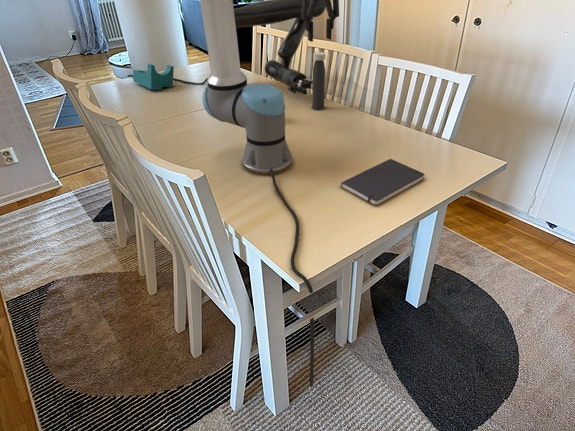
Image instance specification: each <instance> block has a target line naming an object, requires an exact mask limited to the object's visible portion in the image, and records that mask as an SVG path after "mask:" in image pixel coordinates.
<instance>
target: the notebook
mask: <svg viewBox="0 0 575 431" xmlns="http://www.w3.org/2000/svg"><path fill="white" fill-rule="evenodd" d="M424 176H425V173H424V172H422V171H420V170H417V169H415V168H413V167H410V166H408V165H406V164H404V163H401V162H399V161H397V160H395V159H393V158H389V159H387V160H385V161H382V162H380V163H379V164H377V165H375V166H372V167H370V168H368V169H366V170H364V171H362V172H360V173H358V174H356V175H353V176H351V177H350V178H348V179H345V180H344V181H341V182H340V183H341V184H340V187H341V188H342V189H344V190H345V191H347V192H349V193H350V194H353V195H355V196H356V197H358V198H360V199H362V200H363V201H365V202H367V203H369V204H371V205H373V206H379V205H381V204H382V203H384V202H386V201H388V200H390V199H391V198H393V197H395V196H397V195H398V194H400V193H402V192H404V191H406V190H407V189H409V188H411V187H413V186H415V185H416V184H418V183H420V182H422V181H423V180H424Z"/></svg>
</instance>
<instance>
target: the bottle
mask: <svg viewBox="0 0 575 431" xmlns="http://www.w3.org/2000/svg"><path fill="white" fill-rule="evenodd" d="M312 80H313V83H312V87H313V89H311V90H312V91H311V92H312V93H311V96H312V97H311V98H312V101H311V108H312V109H313V110H314V111H322V110H324V109H325V91H326V90H325V89H326V67H325V61H324V60H320V61H318V60H314V63H313V66H312Z"/></svg>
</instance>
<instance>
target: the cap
mask: <svg viewBox="0 0 575 431" xmlns="http://www.w3.org/2000/svg"><path fill="white" fill-rule="evenodd" d="M312 57H313V58H312V59H313V60H314V61H315V60H318V61H320V60H323V61H324V60H326V52H323V51H315V52H313V55H312Z"/></svg>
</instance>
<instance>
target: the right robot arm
mask: <svg viewBox="0 0 575 431" xmlns="http://www.w3.org/2000/svg"><path fill="white" fill-rule="evenodd" d="M317 1H318V0H311V1H310V5H309V8H308V0H302V8H301V19H302V20H305V21H306V30H305V32H307V41H309V42H311V43H312V42H314V21H313V20H312V21H311V19H312V16H313V13H314V9H315V6H316V2H317ZM324 1H325V5H326V9H325V10H326V12H327V17H328V18H326V26H325V27H326V28H325V29H326V31H325V39H327V40H329V41H330V40H332V30H333V29H334V28H335V27H334V26H335V20H336V19H337V18H339V17H340V0H332V1H331V0H324ZM199 3H200V10H201V17H202V22H203V29H204V36H205V42H206V49H207V55H208V62H209V67H210V74H211V75H210V74H209V76H208V77H209V78H208V77H207V78H208V79H207V81H206V85H205V86H204V91H203V92H202V96H201V97H202V106H203V108H204V110H205V111H206V113H207V115H209V116H210V117H211V118H213V119H216V120H217V121H219V122H222V123H228V124H231V125H234V126H237V127H240V128H243V129H245V136H246V137H245V138H246V143H245V146H244V151H243V155H242V166H243V168H244V170H246V171H247V172H249V173H252V174H254V175H255V174H256V175H262V176H269V175H270V176H271V180H272V183H273V187H274V190H275V191H276V194H277V195H278V197H279V198H280V200H281V201H282V203H283V204H284V206H285V207H286V209H287V210H288V211H289V213H290V214H291V215H292V217H293V220H294V223H295V234H294V243H293V247H292V252H291V255H290V267H291V270H292V272H293V273H294V274H295V275H296V276H297V277H299V278H300V279H301V281H303V282H304V284H305V285H306V287H307V291H308V292H309V293H310V294H313V293H314V290H313V287H312V284H311V282H310V281H309V279H308V278H307V277H306V276H305V275H304V274H303V273H302V272H301V271H299V270H298V269H297V268H296V264H295V257H296V253H297V250H298V247H299V246H298V245H299V235H300V223H299V222H300V221H299V218H298V216H297V214H296V212H295V211H294V210H293V209H292V207H291V206H290V205H289V203H288V202H287V200H286V199H285V197H284V196H283V194H282V193H281V191H280V189H279V187H278V185H277V180H276V176H275V175H277V174H280V173H283V172H286V171H287V170H289V169H290V167H291V166H292V163H293V157H292V153H291V150H290V148H289V145H288V143H287V140H286V104H285V96H284V94H283V91H282V90H281V89H280V88H279V87H277V86H275V85H273V84H269V83H259V82H255V83H249V84H248V79H247V75H246V74H245V73H244V72H243V71H242V70H241V62H240V52H239V44H238V35H237V28H236V25H235V16H234V9H235V8H234V0H199ZM307 8H308V11H307ZM309 329H310V330H309V334H310V336H309V338H310V339H309V340H310V341H309V342H310V344H309V345H310V349H309V352H310V353H309V355H310V356H309V387H311V388H312V387H314V365H315V362H314V361H315V318H314V316H313V317H312V318H310V319H309Z"/></svg>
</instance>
